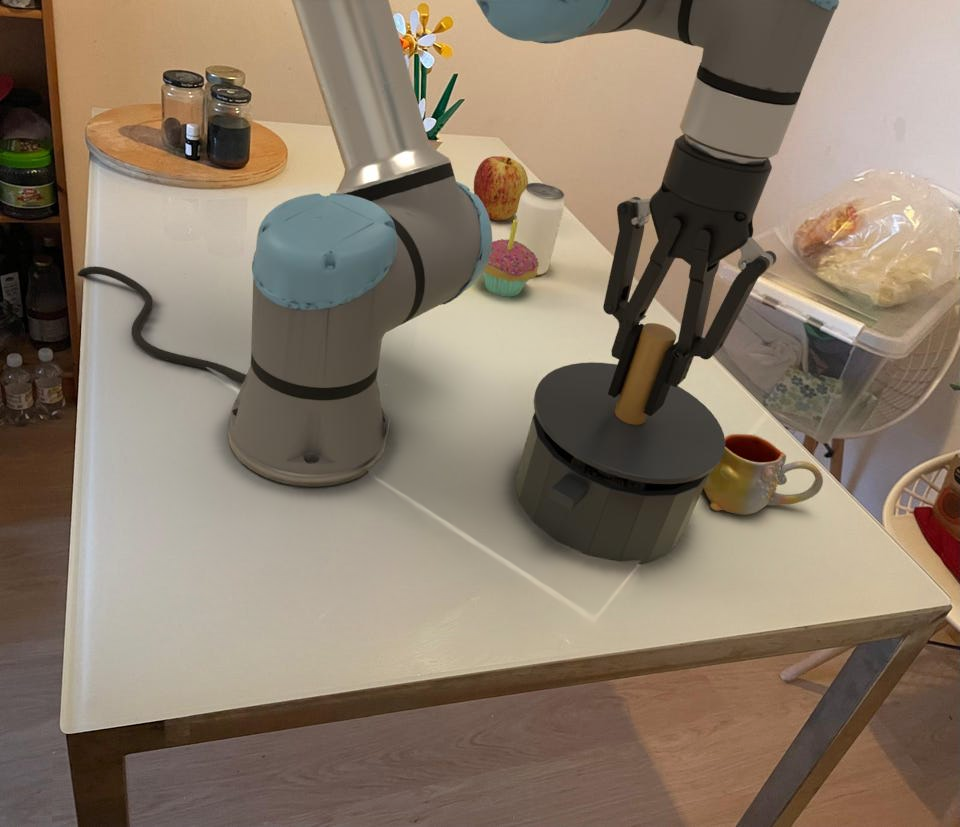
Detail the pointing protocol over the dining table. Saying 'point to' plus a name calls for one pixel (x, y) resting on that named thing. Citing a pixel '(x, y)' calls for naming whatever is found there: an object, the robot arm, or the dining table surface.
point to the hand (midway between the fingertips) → (635, 399)
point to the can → (539, 221)
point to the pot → (600, 506)
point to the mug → (754, 476)
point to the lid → (630, 418)
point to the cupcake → (509, 266)
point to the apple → (500, 186)
